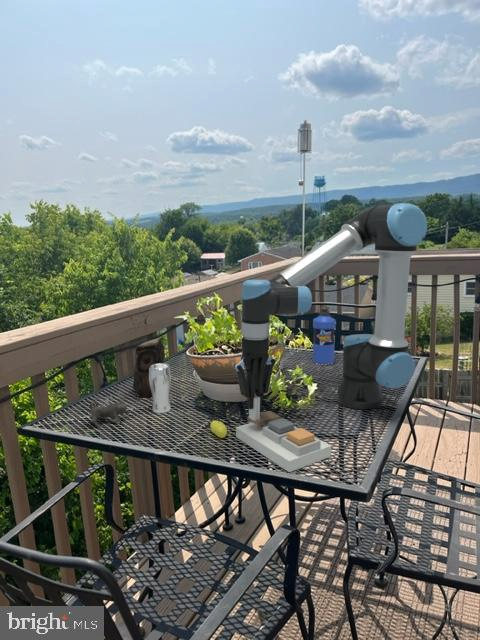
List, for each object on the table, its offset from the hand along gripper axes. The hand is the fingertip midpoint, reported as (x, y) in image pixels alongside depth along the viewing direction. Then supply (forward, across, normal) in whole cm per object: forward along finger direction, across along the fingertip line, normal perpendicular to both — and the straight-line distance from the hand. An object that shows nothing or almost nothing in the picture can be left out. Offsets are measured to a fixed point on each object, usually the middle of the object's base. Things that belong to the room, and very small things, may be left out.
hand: (254, 418), depth 134 cm
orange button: (+2, -3, +16) cm, 17 cm away
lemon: (+7, +6, -8) cm, 13 cm away
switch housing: (+6, -4, +8) cm, 11 cm away
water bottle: (+5, -66, -42) cm, 79 cm away
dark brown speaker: (+7, +10, -53) cm, 55 cm away
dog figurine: (+7, +30, -35) cm, 47 cm away
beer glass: (+7, +12, -35) cm, 38 cm away
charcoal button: (+2, -3, +8) cm, 9 cm away
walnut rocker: (+1, -3, 0) cm, 4 cm away
